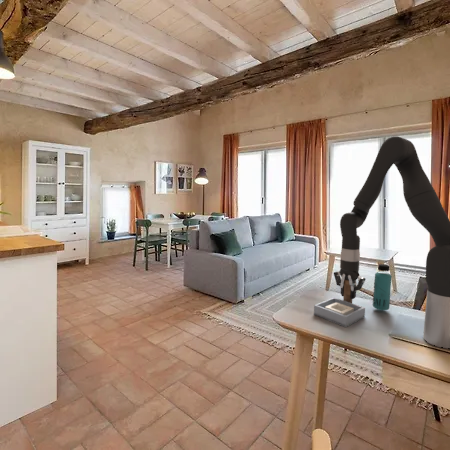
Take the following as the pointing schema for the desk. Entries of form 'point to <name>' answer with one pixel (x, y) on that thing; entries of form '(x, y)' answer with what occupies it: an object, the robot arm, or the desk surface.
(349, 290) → the peg
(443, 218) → the robot arm
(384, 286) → the beverage bottle
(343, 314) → the box
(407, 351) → the desk surface
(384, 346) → the desk surface
